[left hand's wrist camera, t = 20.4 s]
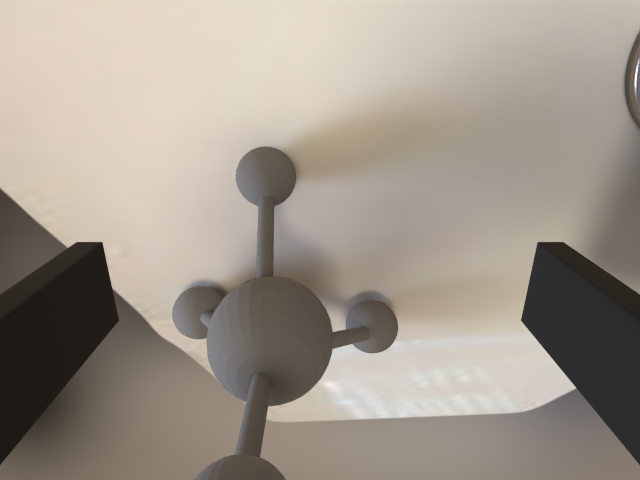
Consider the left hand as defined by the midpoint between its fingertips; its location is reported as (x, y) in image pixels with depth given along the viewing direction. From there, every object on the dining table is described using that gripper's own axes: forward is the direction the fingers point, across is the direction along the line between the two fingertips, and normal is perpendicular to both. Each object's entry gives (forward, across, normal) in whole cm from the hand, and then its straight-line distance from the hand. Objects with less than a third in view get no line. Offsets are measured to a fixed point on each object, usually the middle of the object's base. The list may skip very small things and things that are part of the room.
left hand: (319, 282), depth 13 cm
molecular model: (+29, -4, -11) cm, 31 cm away
